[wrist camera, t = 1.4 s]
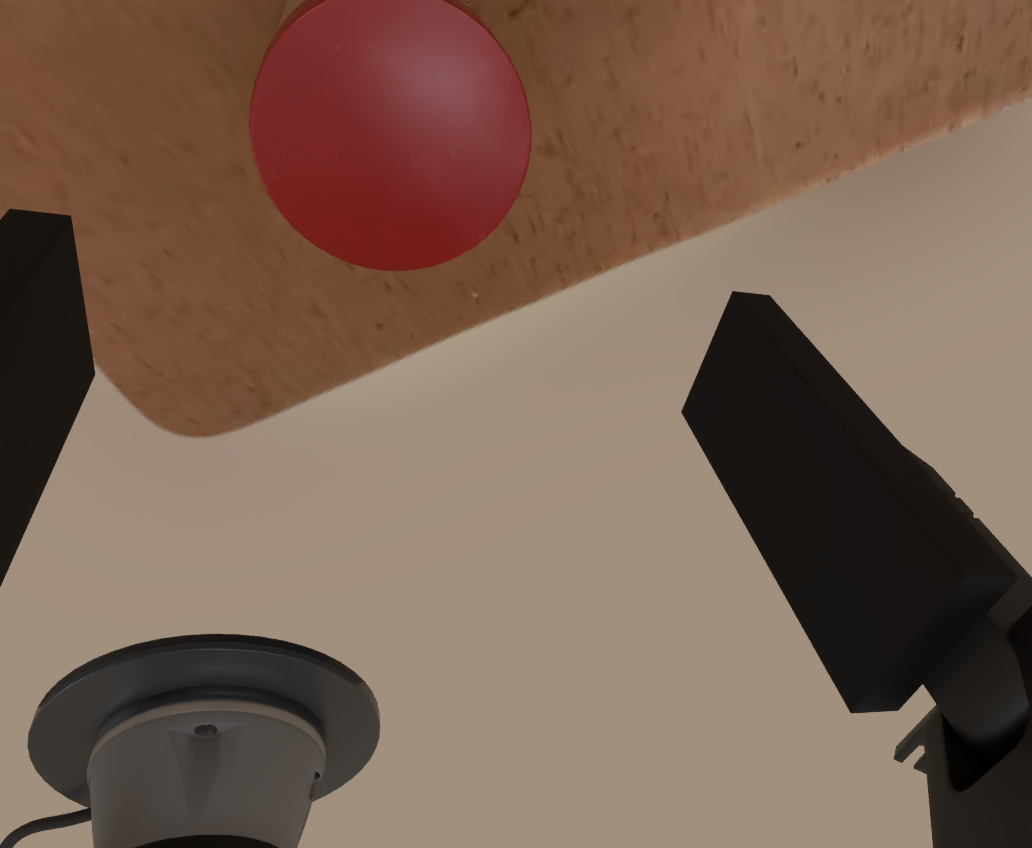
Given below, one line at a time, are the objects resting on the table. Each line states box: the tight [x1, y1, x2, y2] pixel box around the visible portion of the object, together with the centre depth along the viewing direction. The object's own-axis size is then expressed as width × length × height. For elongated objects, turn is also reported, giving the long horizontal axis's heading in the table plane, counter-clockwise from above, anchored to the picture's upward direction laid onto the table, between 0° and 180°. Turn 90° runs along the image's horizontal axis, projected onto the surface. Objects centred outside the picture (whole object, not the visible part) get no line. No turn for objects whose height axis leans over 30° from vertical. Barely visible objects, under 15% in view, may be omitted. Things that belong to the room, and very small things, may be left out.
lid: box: [249, 0, 531, 271], centre depth 21 cm, size 8×7×2 cm
